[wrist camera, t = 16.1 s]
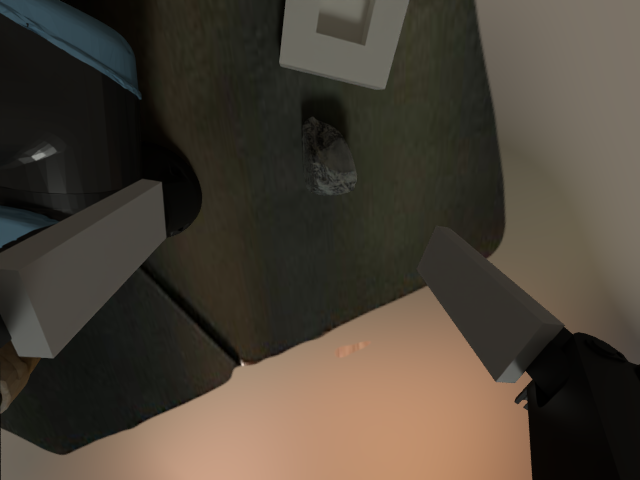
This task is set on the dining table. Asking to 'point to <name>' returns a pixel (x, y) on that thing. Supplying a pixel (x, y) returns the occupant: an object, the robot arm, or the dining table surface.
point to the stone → (326, 159)
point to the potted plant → (13, 373)
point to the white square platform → (342, 38)
